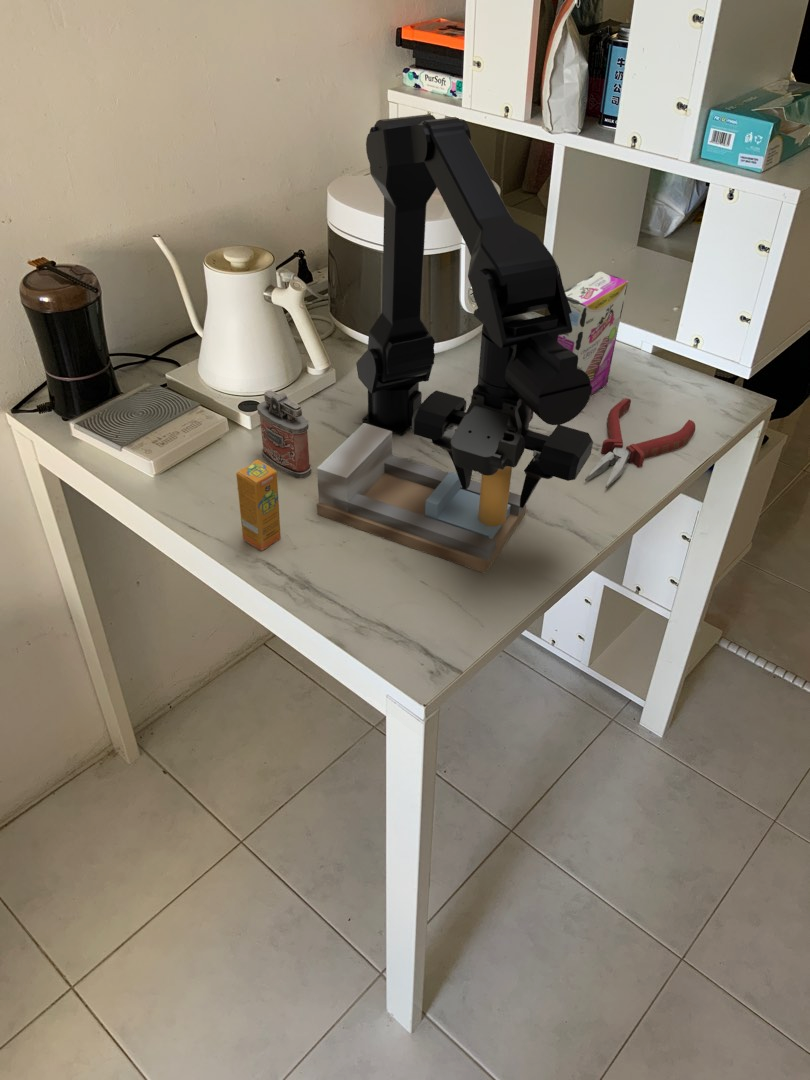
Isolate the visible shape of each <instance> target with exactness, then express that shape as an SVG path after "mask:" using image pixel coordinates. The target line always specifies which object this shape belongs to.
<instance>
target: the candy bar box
mask: <svg viewBox="0 0 810 1080" xmlns="http://www.w3.org/2000/svg"><path fill="white" fill-rule="evenodd" d="M628 285H629V280H626V279H623V278H621V277H618V276H615V275H612V274H609V273H606V272H603V271H597V272H596V273H594V274H593V275H590V276H589V277H587V278H585V279H584V280H582V281H579V282H578V283H576V284H575V285H573V286H571V287H569V288H567V289H564V290H565V293H566V296H567V299H568V302H569V305H570V308H571V311H572V313H571V314H569V316H570V320H571V325H572V332H571V333H568V334H563V335H559V336H558V341H557V342H558V343H560V344H561V345H562V346H563V347H565V348H566V349H569V350H571V351H572V352H573V353H575V354H576V355H577V356H578V365H577V366H578V367H579V368H581V369H582V370H583V371H584V372H585V373H586V374H587V375H588V377H589V379H590V383H591V386H592V392H591V395H590V397H591V396H592V395H593V394H595V393H596V392H598V391H599V390H601V389H602V388H603V387H604V386H606V385H607V384H608V380H609V375H610V370H611V366H612V360H613V356H614V351H615V350H614V349H615V346H616V341H617V338H618V337H617V336H618V332H619V331H618V330H619V327H620V322H621V318H622V314H623V307H624V304H625V299H626V293H627V288H628Z"/></svg>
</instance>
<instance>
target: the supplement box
mask: <svg viewBox="0 0 810 1080" xmlns="http://www.w3.org/2000/svg"><path fill="white" fill-rule="evenodd" d="M235 476H236V481H237V482H236V483H237V492H238V503H239V512H240V513H239V514H240V521H241V522H240V523H241V532H242V539H243V540H244V541H245V542H246V543H248V544H249V545H251V546H253V547H254V548H255V549H258V550H260V551H264V550H266V549H267V548H269V547H270V546H271V545H273V544H274V543H276V542H277V541H278V540H280V539H281V520H280V505H279V502H280V501H279V488H278V470H277V469H275V468H274V467H271V465H269V464H267V463H265V462H263V461H261V460H260V459H255V460H254V461H253V463H250V464H249V465H247V466H245V467H244V468H240V469H238V470H237V471H236V475H235Z"/></svg>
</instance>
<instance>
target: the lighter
mask: <svg viewBox="0 0 810 1080" xmlns="http://www.w3.org/2000/svg"><path fill="white" fill-rule="evenodd" d="M263 395H264V397H263V398H264V401H262V402H260V403H259V404H257V407H256V408H257V414H258V415H259V421H260V422H259V423H260V431H261V432H260V433H261V441H262V449H261V454H262V455H261V456H262V458H263V459H264V460H265V462H267V464H268V465H269V466H270V467H271V466H272V468H273V469H275V470H276V471H279V472H282V473H283V474H285V475H287V476H289V477H291V478H294V479H298V480H299V479H306V478H308V477H310V476H311V475H312V464H310V452H309V435H308V430H309V421H308V419H306V418H305V417H304V416H303V410H302V409H303V408H302V407H303V406H300V404H298V403H296V402H294V401H292V400H291V399H289V398H288V396H287V395H286V393H284V392H280V393H277V392H275V391H273V390H271V389H269V390H266V391H264V392H263Z"/></svg>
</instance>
